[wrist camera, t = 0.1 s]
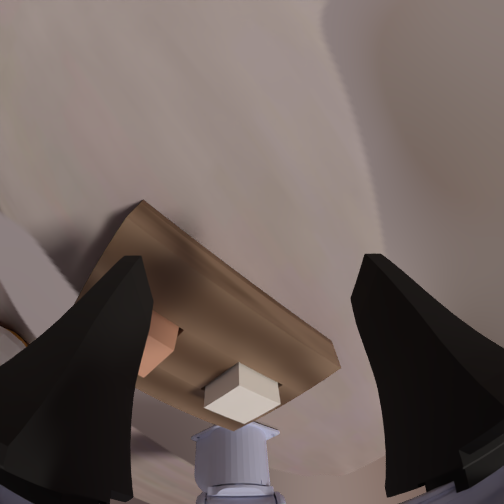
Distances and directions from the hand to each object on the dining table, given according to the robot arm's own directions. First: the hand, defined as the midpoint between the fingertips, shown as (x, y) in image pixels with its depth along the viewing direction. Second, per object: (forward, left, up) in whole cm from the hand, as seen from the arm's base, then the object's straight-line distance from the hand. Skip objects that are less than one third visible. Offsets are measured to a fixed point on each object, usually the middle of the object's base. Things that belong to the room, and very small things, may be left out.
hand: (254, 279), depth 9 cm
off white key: (-12, -10, -8) cm, 18 cm away
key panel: (-12, -5, -11) cm, 17 cm away
